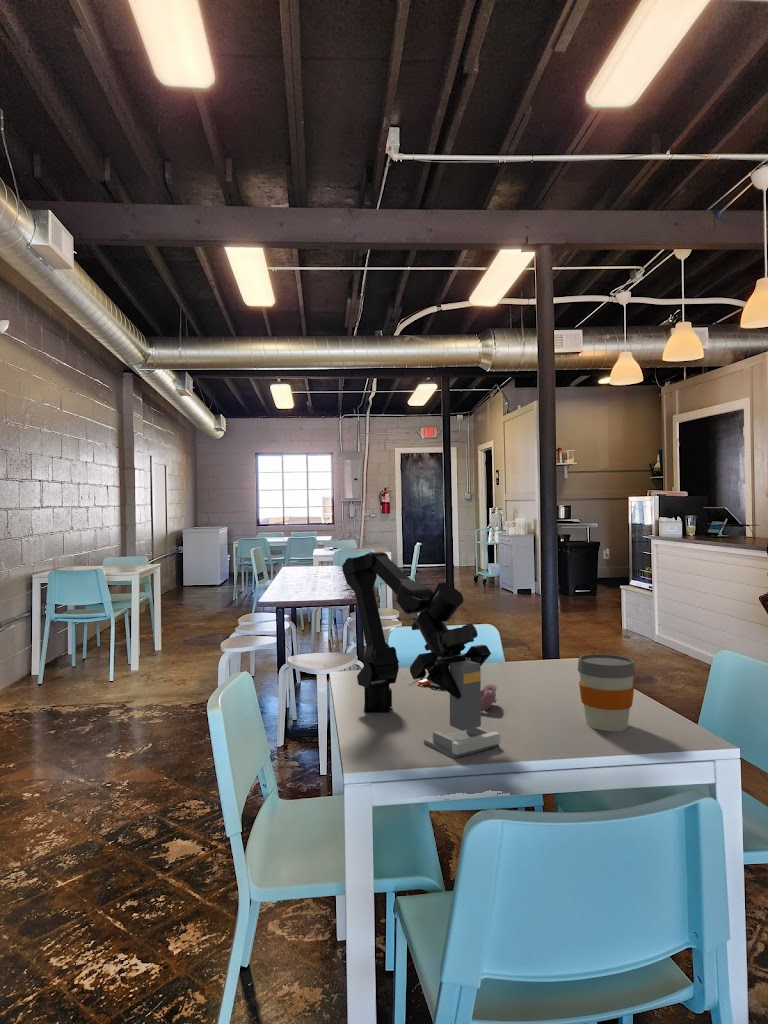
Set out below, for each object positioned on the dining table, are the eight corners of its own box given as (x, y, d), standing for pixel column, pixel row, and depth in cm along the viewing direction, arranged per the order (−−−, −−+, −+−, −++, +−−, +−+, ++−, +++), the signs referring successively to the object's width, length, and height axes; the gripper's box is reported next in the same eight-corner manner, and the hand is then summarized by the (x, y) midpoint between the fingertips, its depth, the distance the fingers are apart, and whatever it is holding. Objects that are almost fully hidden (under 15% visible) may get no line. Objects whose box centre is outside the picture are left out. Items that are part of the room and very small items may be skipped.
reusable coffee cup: (645, 724, 143) (644, 659, 144) (621, 738, 134) (620, 668, 135) (593, 713, 152) (592, 651, 153) (568, 725, 143) (567, 659, 144)
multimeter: (382, 686, 180) (382, 674, 180) (405, 678, 190) (405, 666, 190) (436, 696, 170) (436, 684, 170) (457, 687, 180) (457, 675, 180)
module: (449, 725, 130) (449, 663, 131) (468, 721, 133) (467, 660, 133) (463, 731, 127) (462, 667, 127) (481, 726, 130) (481, 664, 130)
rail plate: (424, 743, 132) (424, 730, 132) (467, 732, 139) (467, 720, 139) (456, 759, 123) (456, 744, 123) (500, 746, 130) (500, 733, 130)
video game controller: (487, 720, 153) (500, 695, 152) (470, 710, 153) (483, 685, 153) (488, 708, 162) (500, 684, 162) (472, 699, 163) (484, 676, 163)
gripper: (417, 615, 129) (451, 680, 119) (485, 608, 139) (521, 667, 130) (396, 647, 135) (427, 711, 126) (462, 638, 145) (495, 696, 136)
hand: (469, 695), depth 129 cm, fingers closed on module, 5 cm apart
